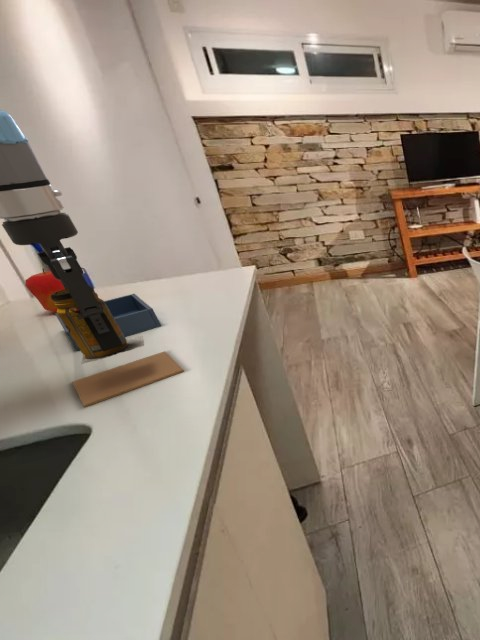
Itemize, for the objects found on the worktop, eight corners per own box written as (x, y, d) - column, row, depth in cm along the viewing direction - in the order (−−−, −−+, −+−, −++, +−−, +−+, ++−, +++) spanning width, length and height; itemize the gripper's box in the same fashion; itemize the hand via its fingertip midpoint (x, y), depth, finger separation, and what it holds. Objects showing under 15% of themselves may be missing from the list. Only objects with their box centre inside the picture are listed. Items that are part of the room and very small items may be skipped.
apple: (71, 304, 132) (46, 263, 127) (97, 303, 131) (73, 262, 126) (35, 316, 124) (7, 273, 119) (63, 316, 123) (36, 272, 118)
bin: (77, 350, 102) (65, 332, 100) (65, 330, 114) (54, 313, 112) (161, 325, 112) (152, 308, 110) (143, 309, 124) (134, 293, 122)
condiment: (83, 352, 87) (45, 291, 81) (143, 336, 92) (110, 277, 86) (81, 365, 82) (40, 301, 76) (145, 347, 87) (110, 286, 81)
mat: (84, 407, 81) (83, 405, 80) (73, 383, 89) (71, 381, 88) (184, 371, 90) (183, 369, 90) (165, 352, 98) (164, 351, 98)
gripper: (74, 215, 73) (147, 347, 83) (59, 207, 84) (125, 324, 94) (2, 226, 68) (90, 366, 78) (-4, 216, 79) (74, 339, 89)
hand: (109, 343), depth 86 cm, fingers closed on condiment, 6 cm apart
